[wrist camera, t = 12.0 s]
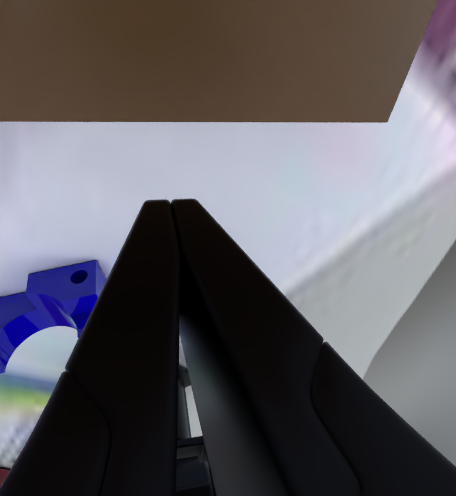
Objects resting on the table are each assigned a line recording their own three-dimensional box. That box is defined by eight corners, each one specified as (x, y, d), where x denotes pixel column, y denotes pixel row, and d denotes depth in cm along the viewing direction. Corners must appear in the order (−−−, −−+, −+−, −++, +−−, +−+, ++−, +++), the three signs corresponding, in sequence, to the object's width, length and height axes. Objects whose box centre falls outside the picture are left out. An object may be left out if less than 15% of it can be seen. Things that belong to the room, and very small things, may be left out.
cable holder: (96, 260, 26) (95, 316, 23) (114, 293, 28) (115, 348, 26) (-41, 288, 25) (-57, 349, 23) (-10, 320, 28) (-22, 378, 25)
